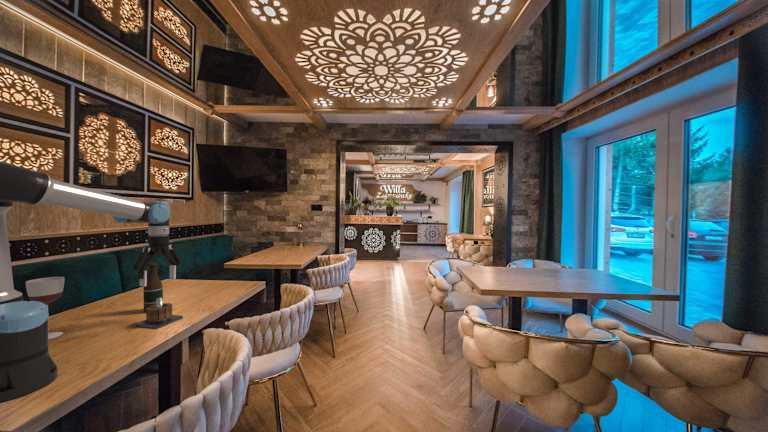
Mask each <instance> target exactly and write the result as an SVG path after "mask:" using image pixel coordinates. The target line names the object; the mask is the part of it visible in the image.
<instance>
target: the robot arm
mask: <svg viewBox="0 0 768 432" xmlns="http://www.w3.org/2000/svg"><path fill="white" fill-rule="evenodd" d="M13 203H22V204H23V203H24V204H29V205H33V206H34V205H35V206H36V205H38V204H41V203H42V204H47V205H53V206H59V207H64V208H69V209H74V210H79V211H84V212H91V213H95V214H99V215H100V214H101V215H106V216H111V217H112V218H113V220H114V221H115V222H116V223H118V224H132V223H133V224H147V234H148V237H147V243H148V247H141V248H140V253H139V256H138V257H137V260H136V261H135V262H134V266H133V267H132V271H135V272H138V273H137V275H138V276H137V279H139V287H143V288H144V287H145V286H147V280H148V277H147V275H148V274H147V273H148V272H147V270H146V269H147V268H149V266H148V265H149V264H150V263H152V261H154V260H153V259H155V258H156V257H157V258H158V257H164V258H165V259H166V260H167V261H168V262H169V264H170V265H169V280H176V278H177V277H176V276H177V275H176V274H177V271H178V266H179V264H181V263H182V260H181V258H180V255H179V254H178V252H177V250H176V245H175V244H170V236H169V234H170V216H171V210H170V209H171V208H170V203H169V202H168V201H160V200H150V201H148V202H145V201H142V200H137V199H133V198H130V197H125V196H121V195H118V194H117V195H116V194H112V193H109V192H105V191H101V190H96V189H93V188H88V187H85V186H81V185H76V184H74V183H69V182H65V181H61V180H57V179H52V177H50V175H49V174H47V173H42V172H39V171H36V170H31V169H28V168H25V167H23V166H19V165H15V164H11V163H8V162H3V161H0V403H1V402H2V403H3V402H7V401H10V400H14V399H17V398H20V397H23V396H26V395H28V394H29V395H30V394H31V393H34V392H36V391H38V390H40V389H42V388H44V387H47V386H48V385H49V384H51V383H53V382H54V381H55V380H56V379H58V377H59V373H58V372H59V370H58V369H59V368H58V366H57V364H56V363H55V361H54V359H53V358H52V356H51V354H50V353H49V339H48V330H49V316H50V314H49V310H48V311H47V306H46V305H45V304H44V303H42V302H38V301H31V300H29V301H27V300H24V296H23V292H21V291H18V290H17V289H14V288H15V287H14V277H13V268H12V261H11V260H12V259H11V251H10V249H11V248H10V243H9V240H10V239H9V233H8V223H7V216H6V215H7V212H8V211H10V210H12V209H13V208H14V204H13Z"/></svg>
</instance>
